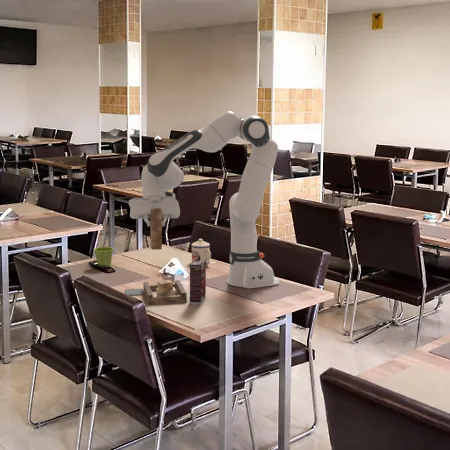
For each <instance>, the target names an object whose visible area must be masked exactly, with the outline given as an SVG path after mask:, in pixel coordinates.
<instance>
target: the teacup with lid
mask: <svg viewBox="0 0 450 450" xmlns="http://www.w3.org/2000/svg"><path fill="white" fill-rule="evenodd" d="M210 246H211V245H210V243H209V242H206V241H204V240H203V239H202V238H198V240H196V241H194V242H192V243H191V264H192V263H193V262H194V261H195V260H206V265H207V264H209V263H210V259H211V257H212V252H211V251H210V248H211V247H210Z"/></svg>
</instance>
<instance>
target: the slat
mask: <svg viewBox="0 0 450 450" xmlns="http://www.w3.org/2000/svg"><path fill="white" fill-rule="evenodd" d="M150 221H151V227H150V249H151V250H152V251H153V250H162V249H163V248H162V244H163V243H162V242H163V238H162V237H163V227H162V221H163V218H162V210H161V208H151V218H150Z"/></svg>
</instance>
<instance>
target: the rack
mask: <svg viewBox="0 0 450 450" xmlns="http://www.w3.org/2000/svg"><path fill="white" fill-rule="evenodd" d="M173 287H174V288H175V290H176V294H177V295H173V296H157V295H156V296H154V295H153V291H157V288H158V283H156V284H149V281H144V282H143V288H142V290H143V293H144V295H145V298H146V301H147V303H148V305H159V304H161V305H163V304H177V303H188V302H187V301H188V298H187V297H188V295H187V291H186V289H185V288H184V286H183V284H182V283H181V281H180V280H179V279H175V280H174V282H173Z"/></svg>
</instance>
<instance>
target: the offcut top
mask: <svg viewBox="0 0 450 450" xmlns="http://www.w3.org/2000/svg"><path fill="white" fill-rule="evenodd" d="M157 284H158V289H159V290H160V291H166V290H173V284H174V282H173V281H172V280H170V279H167V280H159V281H157Z"/></svg>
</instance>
